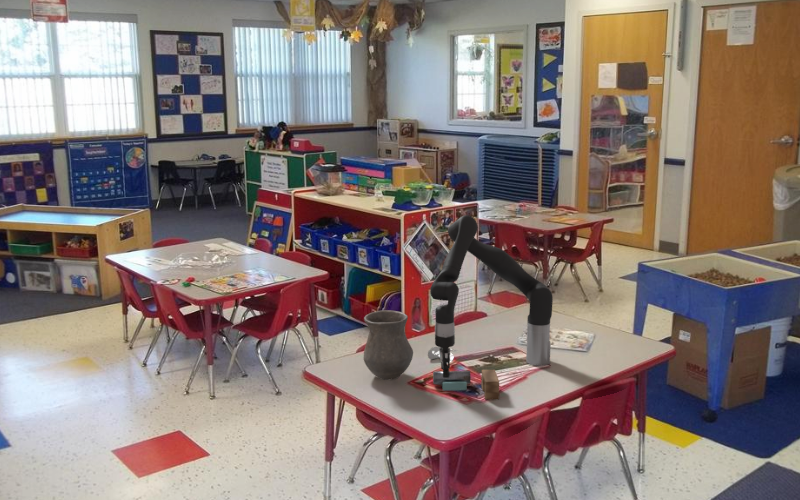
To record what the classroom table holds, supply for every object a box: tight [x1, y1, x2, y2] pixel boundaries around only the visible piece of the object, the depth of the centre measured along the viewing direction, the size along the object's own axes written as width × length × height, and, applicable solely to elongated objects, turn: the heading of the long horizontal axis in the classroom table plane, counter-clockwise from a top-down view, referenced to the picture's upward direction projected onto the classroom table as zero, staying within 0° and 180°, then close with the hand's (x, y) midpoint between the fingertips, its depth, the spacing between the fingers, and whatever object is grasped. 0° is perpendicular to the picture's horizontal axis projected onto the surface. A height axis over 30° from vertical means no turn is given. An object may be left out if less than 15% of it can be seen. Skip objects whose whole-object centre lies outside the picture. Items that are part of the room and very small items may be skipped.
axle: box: [432, 370, 472, 385], centre depth 297 cm, size 14×5×5 cm, turn 91°
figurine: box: [427, 346, 458, 363], centre depth 324 cm, size 9×6×12 cm
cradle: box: [441, 381, 468, 391], centre depth 298 cm, size 9×10×3 cm
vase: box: [363, 309, 414, 381], centre depth 305 cm, size 20×19×25 cm
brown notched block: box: [480, 369, 500, 401], centre depth 290 cm, size 5×12×7 cm, turn 1°
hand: (444, 373), depth 297 cm, fingers open, 8 cm apart
